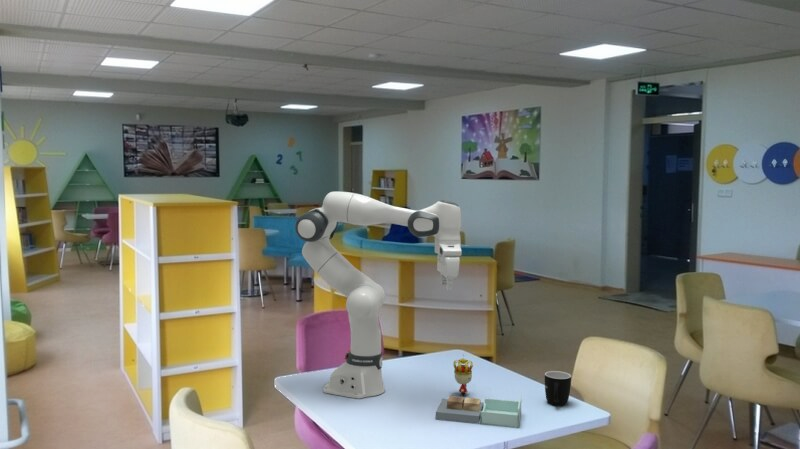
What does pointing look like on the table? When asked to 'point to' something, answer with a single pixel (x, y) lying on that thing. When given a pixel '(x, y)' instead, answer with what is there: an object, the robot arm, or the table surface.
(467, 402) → the tile
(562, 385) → the mug
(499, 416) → the bin
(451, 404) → the tile
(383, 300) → the robot arm
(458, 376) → the toy
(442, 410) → the board
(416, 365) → the table surface
